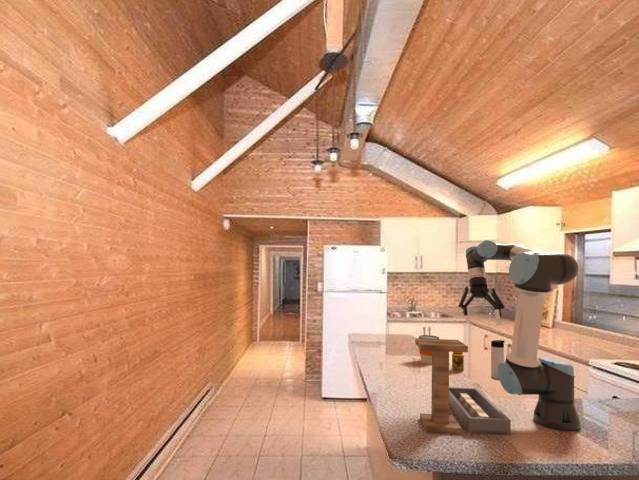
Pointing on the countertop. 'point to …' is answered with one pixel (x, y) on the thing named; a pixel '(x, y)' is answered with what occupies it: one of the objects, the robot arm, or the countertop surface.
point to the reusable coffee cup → (426, 355)
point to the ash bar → (472, 406)
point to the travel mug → (496, 357)
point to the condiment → (457, 362)
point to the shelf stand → (440, 385)
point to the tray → (490, 425)
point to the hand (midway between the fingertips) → (483, 323)
